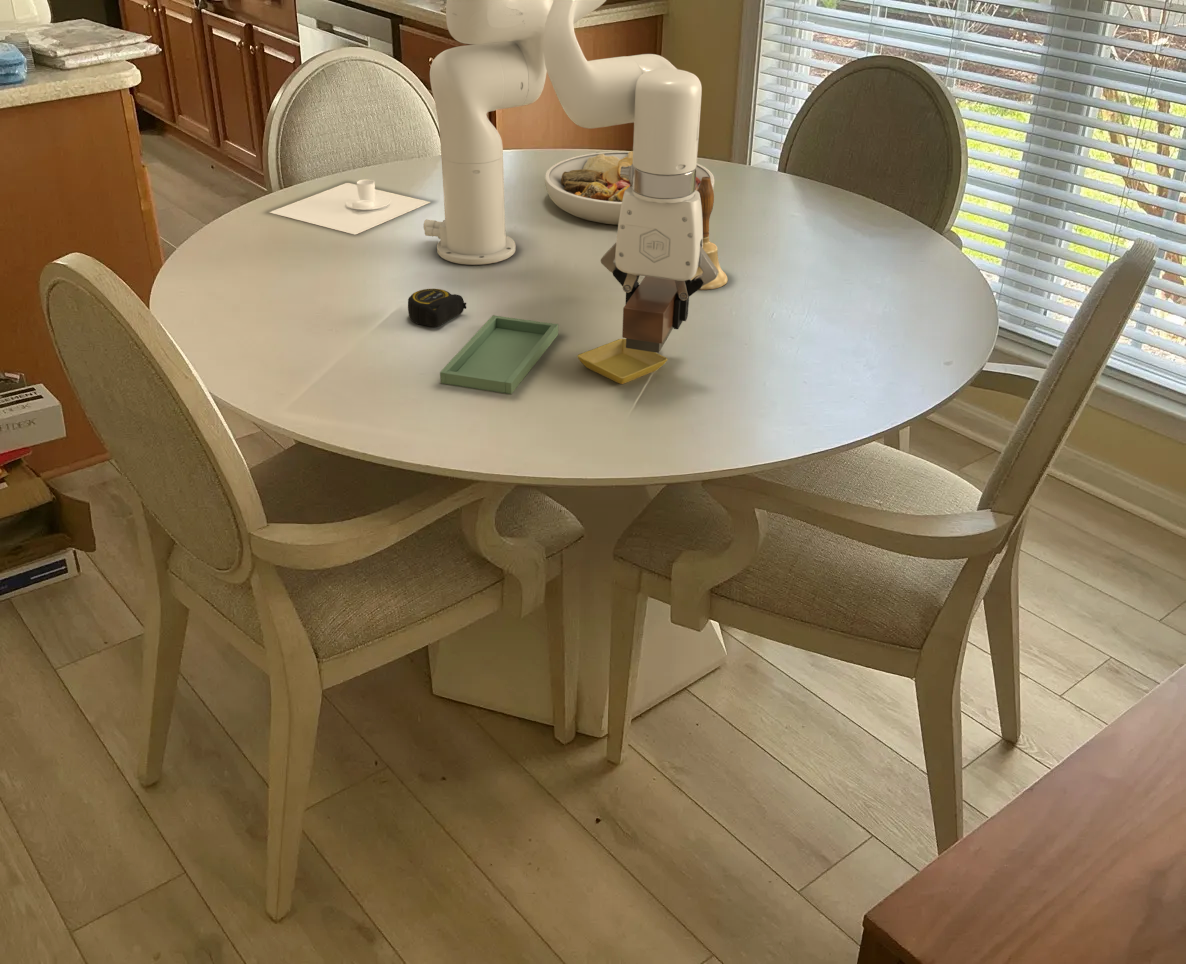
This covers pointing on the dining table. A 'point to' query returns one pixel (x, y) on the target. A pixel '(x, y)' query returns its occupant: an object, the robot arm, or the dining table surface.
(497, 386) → the tray
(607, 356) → the yellow flat tray
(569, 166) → the bowl
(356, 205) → the teacup and saucer
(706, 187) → the hand bell
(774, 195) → the dining table surface
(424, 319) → the tape measure
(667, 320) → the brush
